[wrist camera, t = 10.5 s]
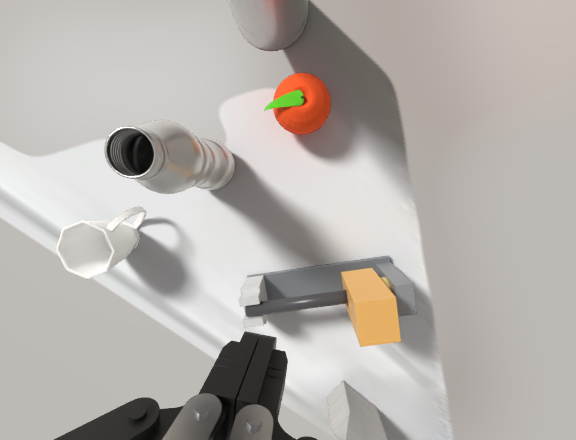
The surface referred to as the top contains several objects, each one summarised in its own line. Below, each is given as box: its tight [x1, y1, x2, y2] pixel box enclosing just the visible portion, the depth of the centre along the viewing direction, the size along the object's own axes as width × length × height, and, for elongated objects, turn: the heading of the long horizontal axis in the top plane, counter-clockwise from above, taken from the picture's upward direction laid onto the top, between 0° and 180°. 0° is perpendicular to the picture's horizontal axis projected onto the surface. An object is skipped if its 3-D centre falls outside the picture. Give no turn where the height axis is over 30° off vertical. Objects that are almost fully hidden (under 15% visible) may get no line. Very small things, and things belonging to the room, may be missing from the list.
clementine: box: [264, 73, 331, 135], centre depth 35 cm, size 8×7×7 cm
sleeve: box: [341, 268, 401, 347], centre depth 33 cm, size 4×5×10 cm
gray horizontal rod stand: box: [239, 256, 416, 328], centre depth 37 cm, size 20×5×9 cm, turn 99°
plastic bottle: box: [105, 120, 235, 194], centre depth 30 cm, size 6×7×20 cm
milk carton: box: [327, 380, 388, 440], centre depth 39 cm, size 4×7×10 cm, turn 49°
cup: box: [56, 206, 146, 279], centre depth 38 cm, size 7×10×8 cm
